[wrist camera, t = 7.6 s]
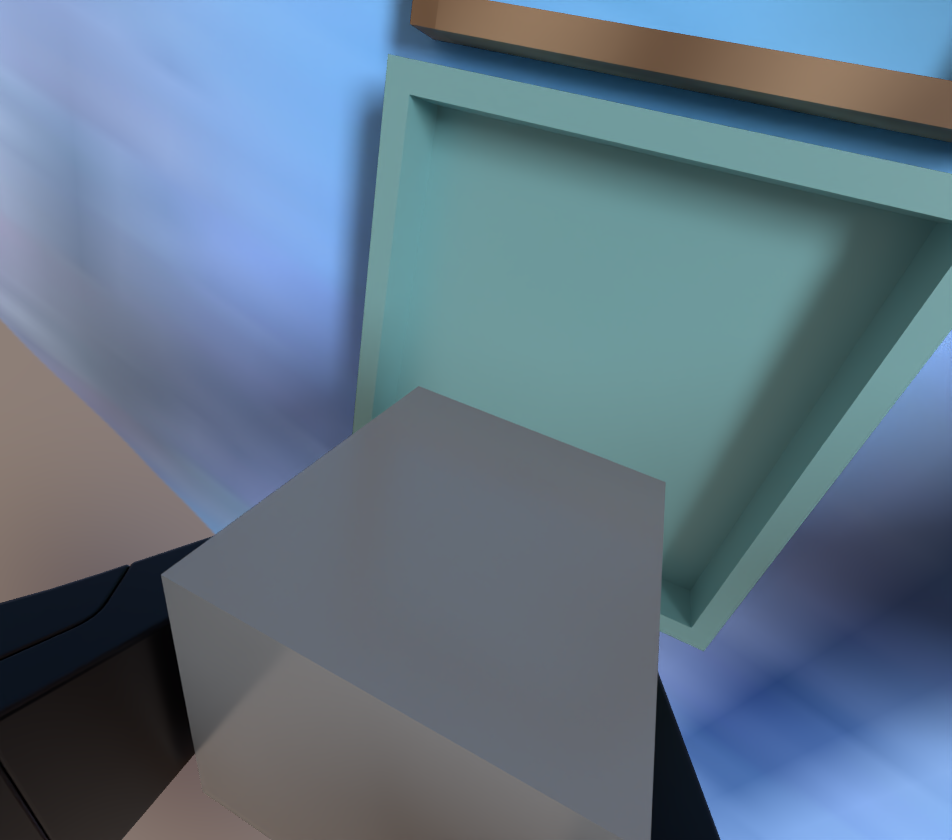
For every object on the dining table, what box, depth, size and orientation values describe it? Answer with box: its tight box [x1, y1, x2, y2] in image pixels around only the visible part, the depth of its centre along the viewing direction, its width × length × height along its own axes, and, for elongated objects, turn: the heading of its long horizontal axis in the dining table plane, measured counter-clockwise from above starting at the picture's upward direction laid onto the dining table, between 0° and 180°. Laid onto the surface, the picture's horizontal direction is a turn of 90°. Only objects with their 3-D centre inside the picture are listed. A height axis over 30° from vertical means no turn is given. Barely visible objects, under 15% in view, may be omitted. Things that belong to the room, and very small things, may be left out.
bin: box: [352, 54, 952, 651], centre depth 16 cm, size 16×16×2 cm
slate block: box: [161, 386, 666, 840], centre depth 7 cm, size 4×4×5 cm
